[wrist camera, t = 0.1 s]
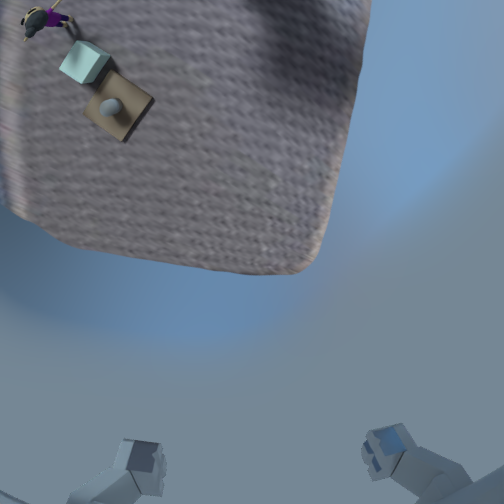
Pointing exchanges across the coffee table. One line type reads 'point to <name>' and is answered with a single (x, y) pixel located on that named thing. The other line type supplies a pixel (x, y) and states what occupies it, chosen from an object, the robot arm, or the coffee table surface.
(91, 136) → the coffee table surface
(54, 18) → the toy
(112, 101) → the stand
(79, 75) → the pale aqua cube
